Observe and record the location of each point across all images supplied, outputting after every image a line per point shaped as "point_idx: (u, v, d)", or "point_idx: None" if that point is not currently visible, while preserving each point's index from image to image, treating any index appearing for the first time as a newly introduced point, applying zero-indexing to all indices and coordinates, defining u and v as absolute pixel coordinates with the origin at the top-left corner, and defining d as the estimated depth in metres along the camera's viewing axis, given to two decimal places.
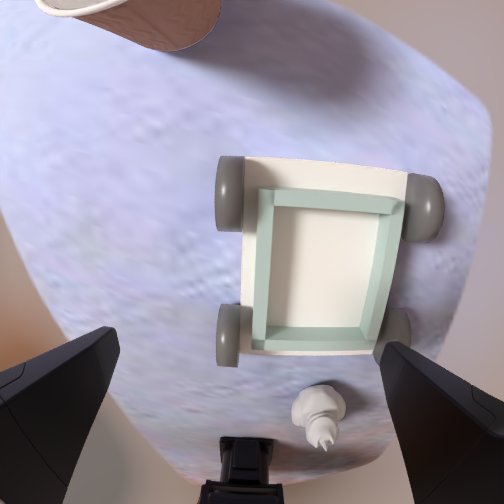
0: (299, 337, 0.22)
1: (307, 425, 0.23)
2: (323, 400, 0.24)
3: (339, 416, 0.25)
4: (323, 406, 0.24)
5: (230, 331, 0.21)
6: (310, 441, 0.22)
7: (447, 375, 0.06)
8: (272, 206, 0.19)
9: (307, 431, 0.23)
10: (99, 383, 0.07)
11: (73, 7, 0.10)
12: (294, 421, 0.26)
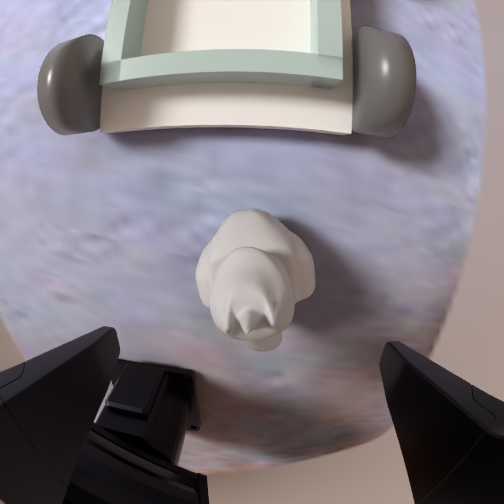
0: None
1: (213, 281, 0.11)
2: (254, 227, 0.12)
3: (300, 283, 0.13)
4: (254, 240, 0.12)
5: (66, 44, 0.08)
6: (216, 319, 0.10)
7: (447, 375, 0.06)
8: None
9: (211, 293, 0.11)
10: (99, 383, 0.07)
11: None
12: (201, 294, 0.13)
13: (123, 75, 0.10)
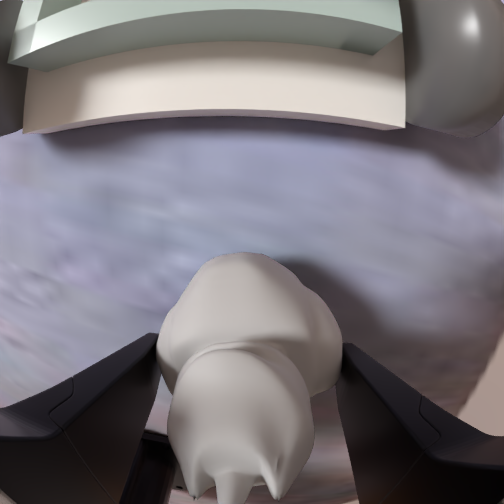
0: None
1: (174, 391, 0.06)
2: (246, 292, 0.07)
3: (320, 376, 0.07)
4: (246, 318, 0.07)
5: None
6: (179, 462, 0.05)
7: (395, 383, 0.06)
8: None
9: (169, 417, 0.05)
10: (148, 393, 0.07)
11: None
12: (166, 382, 0.08)
13: (36, 43, 0.05)
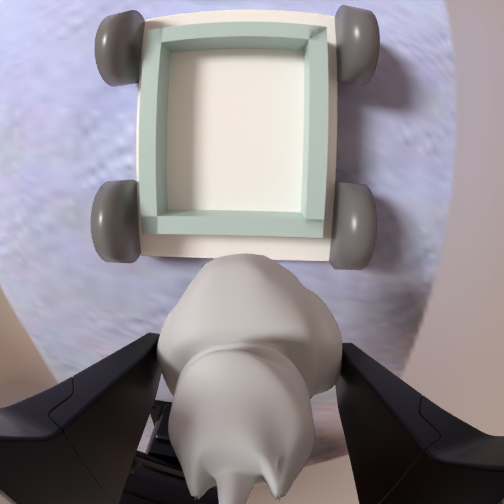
0: (205, 214, 0.16)
1: (175, 392, 0.06)
2: (246, 293, 0.07)
3: (320, 376, 0.07)
4: (246, 319, 0.07)
5: (108, 198, 0.15)
6: (180, 463, 0.05)
7: (395, 383, 0.06)
8: (159, 43, 0.13)
9: None
10: (149, 393, 0.07)
11: None
12: (166, 383, 0.08)
13: (161, 229, 0.16)
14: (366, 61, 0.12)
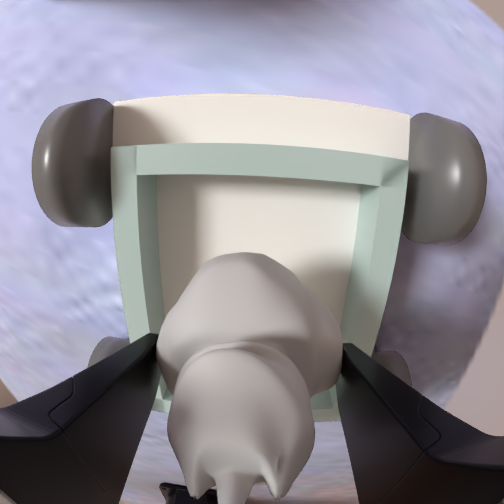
0: None
1: (174, 391, 0.06)
2: (246, 292, 0.07)
3: (320, 376, 0.07)
4: (246, 318, 0.07)
5: None
6: (179, 463, 0.05)
7: (395, 383, 0.06)
8: (134, 176, 0.09)
9: None
10: (149, 393, 0.07)
11: None
12: (166, 382, 0.08)
13: (168, 410, 0.13)
14: (455, 234, 0.09)
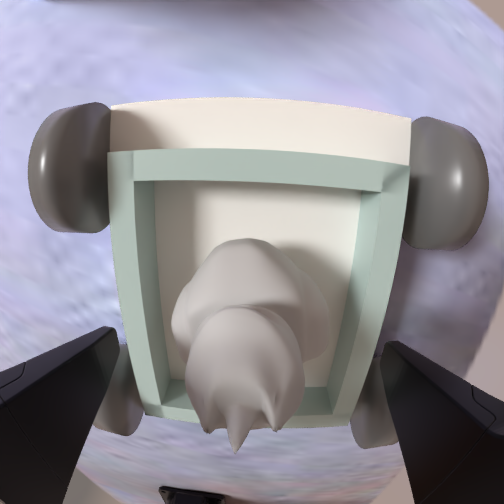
0: None
1: (191, 347, 0.08)
2: (251, 268, 0.09)
3: (310, 342, 0.09)
4: (250, 288, 0.08)
5: None
6: (193, 406, 0.06)
7: (447, 375, 0.06)
8: (131, 182, 0.09)
9: None
10: (99, 383, 0.07)
11: None
12: (179, 349, 0.10)
13: (167, 415, 0.12)
14: (456, 241, 0.08)
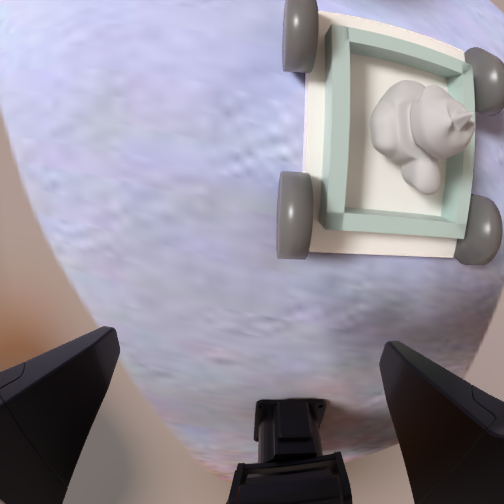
0: (383, 214, 0.16)
1: (414, 106, 0.11)
2: (422, 87, 0.12)
3: None
4: None
5: (302, 190, 0.15)
6: (433, 122, 0.10)
7: (447, 375, 0.06)
8: (347, 41, 0.13)
9: (419, 110, 0.11)
10: (99, 383, 0.07)
11: None
12: (383, 135, 0.13)
13: (345, 226, 0.16)
14: (500, 102, 0.12)
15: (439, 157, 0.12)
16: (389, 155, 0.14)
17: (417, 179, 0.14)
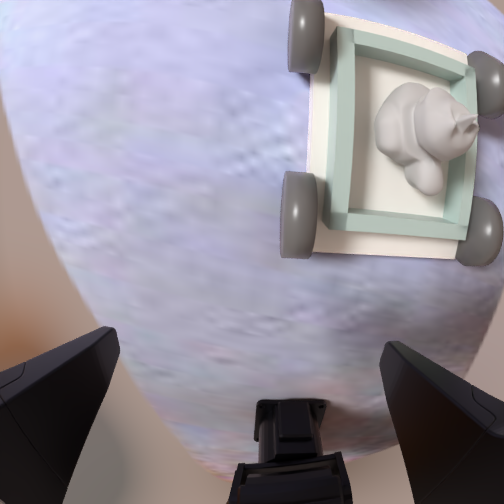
0: (386, 215, 0.16)
1: (418, 108, 0.11)
2: (425, 90, 0.12)
3: None
4: None
5: (306, 190, 0.15)
6: (437, 124, 0.10)
7: (447, 375, 0.06)
8: (353, 43, 0.13)
9: (423, 112, 0.11)
10: (99, 383, 0.07)
11: None
12: (387, 136, 0.14)
13: (349, 226, 0.16)
14: (502, 105, 0.12)
15: (442, 159, 0.12)
16: (393, 156, 0.14)
17: (421, 180, 0.14)
